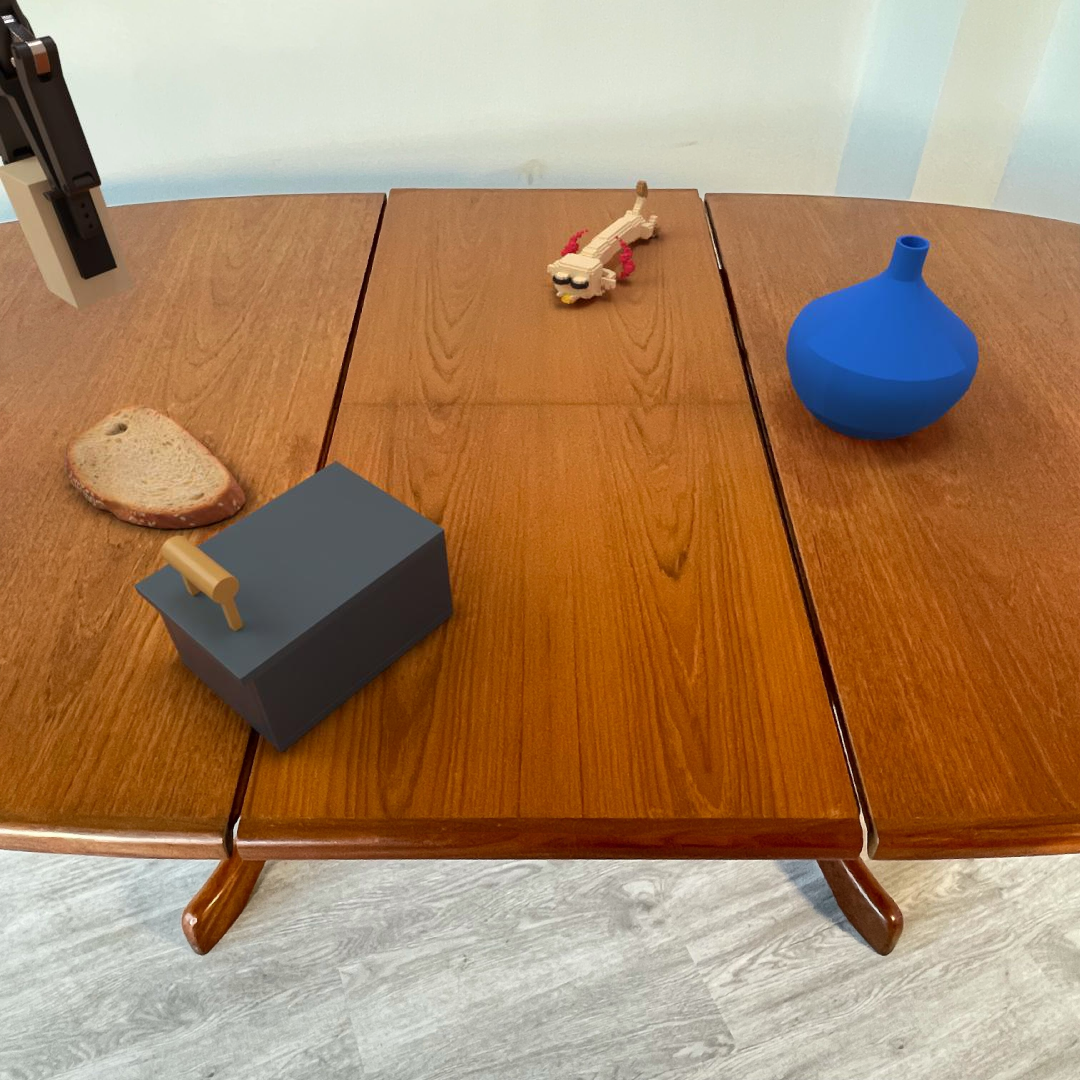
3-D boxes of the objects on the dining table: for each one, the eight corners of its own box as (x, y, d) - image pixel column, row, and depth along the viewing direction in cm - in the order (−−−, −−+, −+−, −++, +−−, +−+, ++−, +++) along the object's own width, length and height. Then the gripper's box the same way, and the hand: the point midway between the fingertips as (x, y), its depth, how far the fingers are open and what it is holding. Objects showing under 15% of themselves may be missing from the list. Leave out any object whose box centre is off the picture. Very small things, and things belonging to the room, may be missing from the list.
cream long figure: (608, 233, 128) (528, 295, 111) (614, 171, 123) (530, 226, 105) (672, 247, 125) (600, 313, 108) (681, 184, 119) (606, 243, 102)
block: (79, 310, 70) (27, 185, 63) (48, 290, 72) (-5, 167, 65) (135, 286, 73) (92, 164, 66) (104, 268, 75) (59, 148, 68)
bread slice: (243, 523, 82) (233, 493, 79) (40, 545, 80) (23, 514, 77) (257, 411, 95) (249, 382, 92) (83, 427, 93) (70, 398, 90)
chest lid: (243, 687, 57) (220, 629, 53) (137, 593, 63) (109, 534, 59) (445, 537, 67) (438, 478, 63) (337, 468, 74) (325, 411, 69)
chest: (281, 753, 64) (253, 679, 58) (182, 662, 70) (147, 586, 64) (453, 614, 74) (445, 537, 68) (353, 544, 80) (337, 468, 74)
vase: (763, 446, 90) (801, 272, 77) (784, 354, 102) (820, 191, 89) (952, 482, 86) (1027, 305, 72) (950, 381, 98) (1013, 214, 85)
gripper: (73, -81, 52) (184, 279, 69) (-58, -112, 61) (69, 214, 77) (-56, -61, 48) (95, 316, 65) (-176, -98, 57) (-16, 244, 73)
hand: (80, 260), depth 71 cm, fingers closed on block, 5 cm apart
